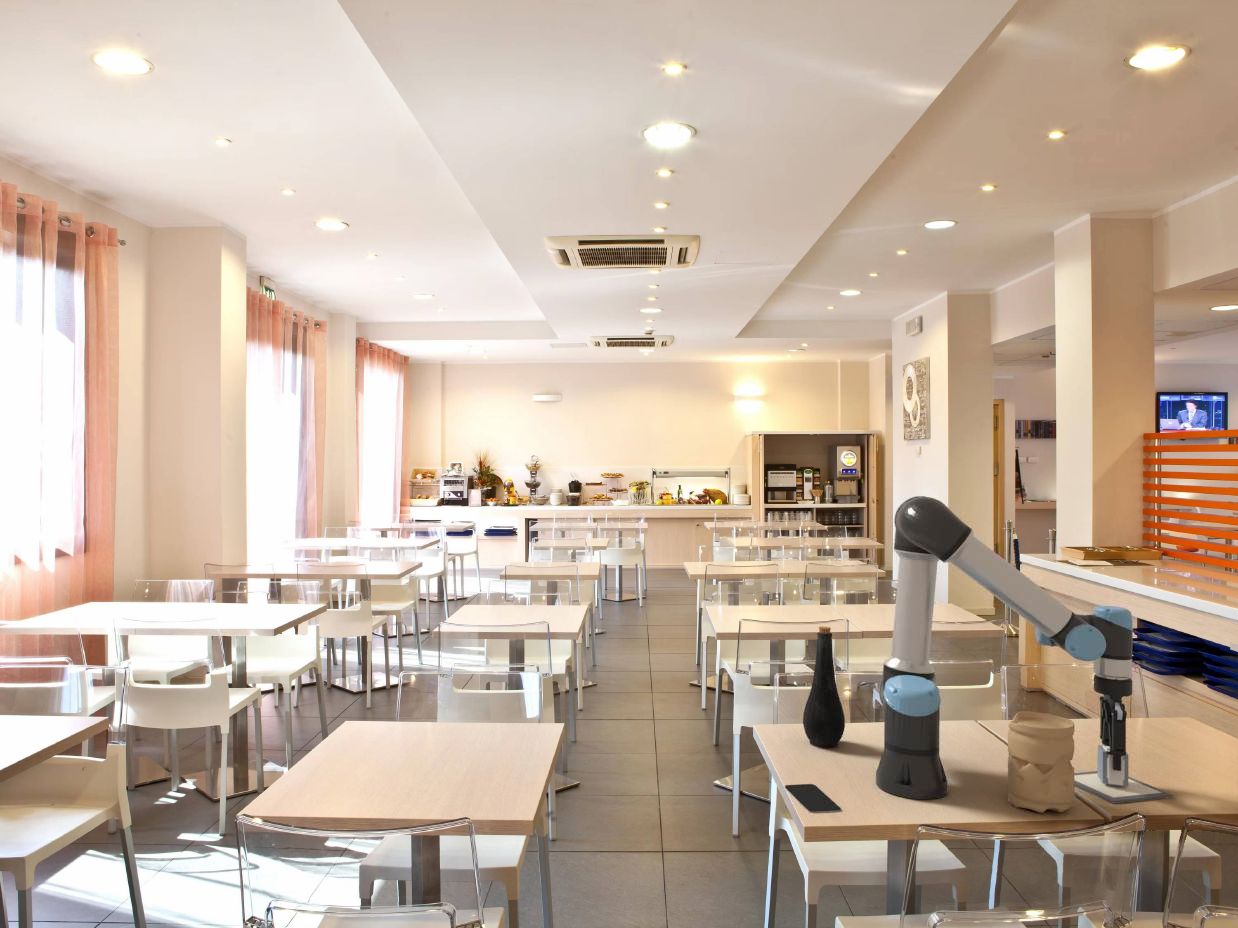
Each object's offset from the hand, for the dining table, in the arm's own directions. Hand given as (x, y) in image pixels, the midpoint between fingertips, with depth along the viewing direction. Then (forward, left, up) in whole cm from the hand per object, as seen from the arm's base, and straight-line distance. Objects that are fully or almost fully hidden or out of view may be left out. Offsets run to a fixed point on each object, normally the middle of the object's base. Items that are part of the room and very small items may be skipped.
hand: (1112, 779), depth 185 cm
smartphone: (-70, +9, -2) cm, 71 cm away
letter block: (0, 0, 0) cm, 0 cm away
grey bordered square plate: (0, 0, -2) cm, 2 cm away
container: (-24, -5, -2) cm, 25 cm away
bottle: (-49, +42, -2) cm, 65 cm away
